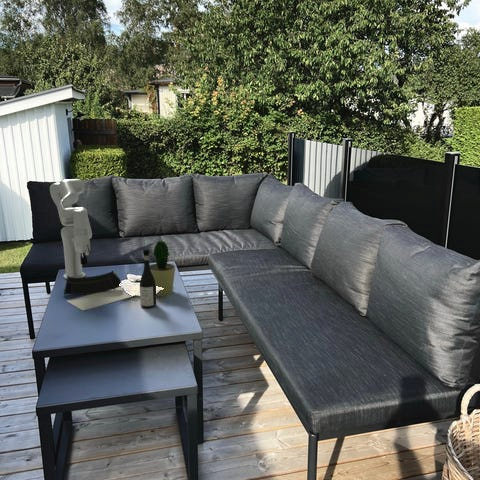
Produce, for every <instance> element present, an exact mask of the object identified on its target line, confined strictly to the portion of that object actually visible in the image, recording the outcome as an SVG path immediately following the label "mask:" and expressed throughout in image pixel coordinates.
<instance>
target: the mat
mask: <svg viewBox="0 0 480 480" xmlns="http://www.w3.org/2000/svg"><path fill="white" fill-rule="evenodd" d="M120 287H121V286H120ZM120 287H118V288H115V290H114V289H112V290H108V291H104V292H99V293H92V294H86V295H83V296H80V297H75V298H72V299H68V300H66V302H67V303H68V304H70V305H72V306H74V307H75V308H77V309H79V310H80V311H83V312H84V311H88V310H91V309H95V308H98V307H101V306H105V305H108V304H112V303H116V302H118V301H124V300H126V299H130V298H133V296H130V295H128V294H126V293H125V292H124V291H123V289H122V288H120Z"/></svg>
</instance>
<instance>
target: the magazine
mask: <svg viewBox="0 0 480 480" xmlns="http://www.w3.org/2000/svg"><path fill="white" fill-rule="evenodd" d="M120 283H121V284H122V281H121V279H120V277H119V275H118V274H117V272H114V270H111V271H110V272H106V273H102V274H98V275H93V276H84V277H80V278H75V277H68V276H67V279H66V282H65V287H64V291H63V295H91V294H95V293H99V292H104V291H108V290H112V289H114V290H115V288H118V287H121V286H119V284H120Z"/></svg>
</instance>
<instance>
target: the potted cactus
mask: <svg viewBox="0 0 480 480" xmlns="http://www.w3.org/2000/svg"><path fill="white" fill-rule="evenodd" d="M152 250H153V251H151V253H152V255H153V256H154V257H153V259H154V260H155V263H153V264H149V265H150V270H151V273H152V275H153V277H154V280H155V284H156V286H158V287H162V288H164V289H163V290H160V291H159V292H158V293H157V294H156V297H158V296H159V297H165V296H169V295H172V293H173V289H174V280H175V275H176V274H175V273H176V266H175V264H172V263H169V260H170V259H169V256H170V255H171V253H170V252H169V246H168V243H167V242H166V241H163V240H159V241H156V242H155V245H154V247H153V249H152Z"/></svg>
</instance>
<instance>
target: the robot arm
mask: <svg viewBox="0 0 480 480" xmlns="http://www.w3.org/2000/svg"><path fill="white" fill-rule="evenodd" d="M85 188H86V187H85V183H84V181H83V180H82V179H80V178H71V179H62V180H61V181H60V182H59V181H58V182H55V183H54V182H53V183H52V184H51V185H50V186H49V192H50V193H49V194H50V196H51V198H52V201H53V203H54V204H55V206H56V208H57V211H58V215H59V220H60V223H61V224H62V226H64V227H62V229H61V230H60V235H61V239H62V240H61V241H62V244H63V255H64V266H65V273H64V274H63V279H65V280H67V276H68V277H75V278H80V277H86V273H85V272H83V265H88V256H90V252H91V241H90V239H92V236H93V232H92V226H91V223H90V219H89V215H88V209H87V208H86V207H84V206H77V207H73V205H75V204H76V203H77V202H78V201H79V195H81V194H84V192H85Z"/></svg>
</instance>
